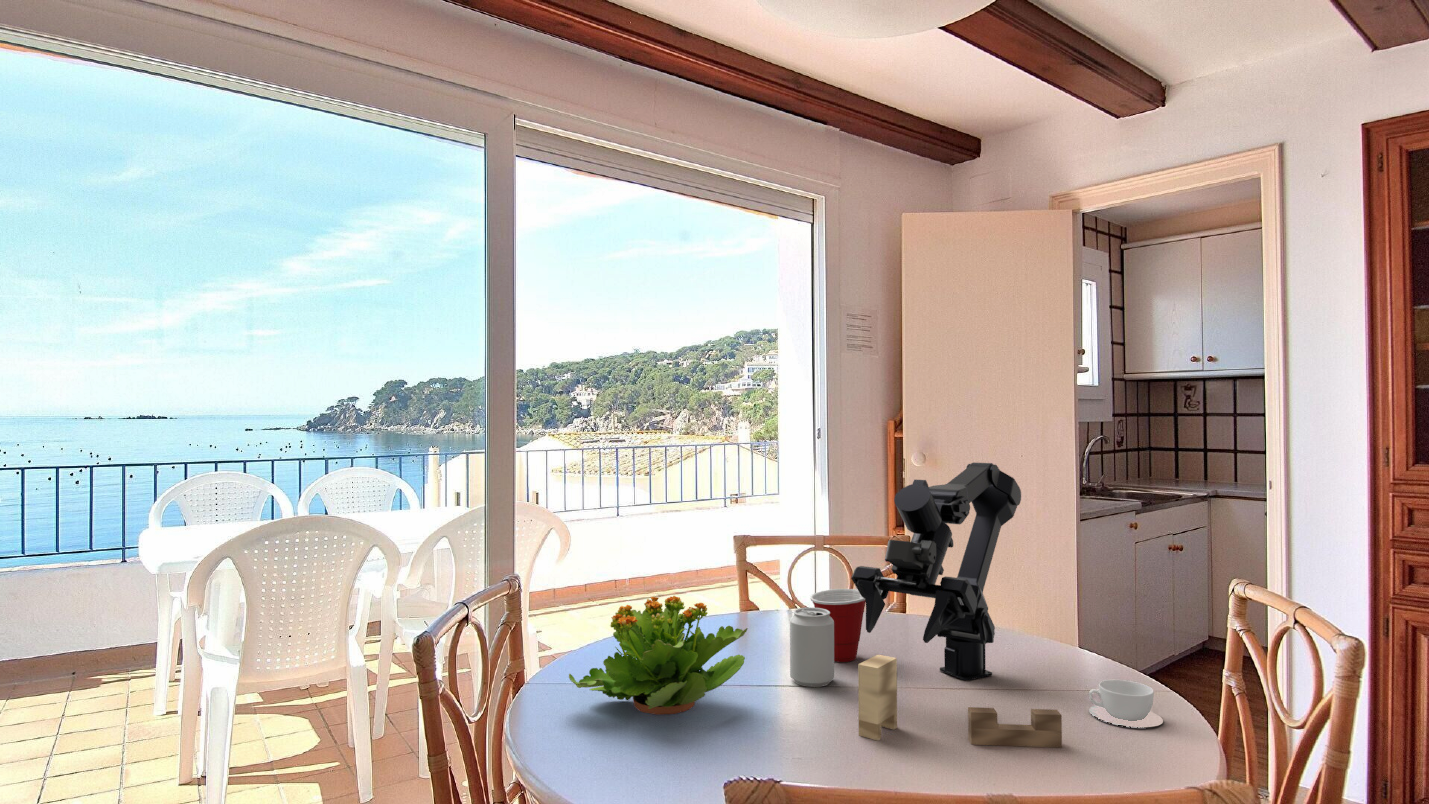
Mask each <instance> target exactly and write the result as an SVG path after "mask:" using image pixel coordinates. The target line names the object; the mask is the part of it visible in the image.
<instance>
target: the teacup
mask: <svg viewBox="0 0 1429 804" xmlns="http://www.w3.org/2000/svg"><path fill="white" fill-rule="evenodd" d="M1093 694H1097V695H1098V696H1099V698H1100V701H1101V702H1100V701H1097V700H1094V699H1093V697H1092V695H1093ZM1154 694H1155V690H1154V689H1153V688H1152V687H1151V686H1149V685H1147V684H1144V683H1141V682H1137V681H1132V680H1128V679H1117V678H1116V679H1113V678H1112V679H1104V680H1101V681H1100V682H1098V689H1097V688H1093V689H1092V688H1091V689H1090V690H1089V692H1088V697H1089V700H1090V702H1091V703H1092V704H1093V706H1091V707H1090V708H1089V709H1088V710H1089V711H1088V712H1089V713H1090V715H1091V714H1092V715H1091V716H1092V717H1094V716H1098V715H1095V714H1096V713H1094V712H1092V711H1097V710H1094V709H1093V708H1098V707H1096V706H1099V707H1103V708H1105V709H1106V711H1107V712H1108V713H1109V714H1110V715H1111V716H1113V717H1115V718H1118V719H1123V720H1128V721H1137V720H1142V719H1144V718H1145V717H1146V716H1147V715H1148V713H1149V712H1150V711H1151V710H1152V707H1153V702H1154ZM1095 705H1096V706H1095ZM1091 708H1092V709H1091ZM1099 719H1100V718H1098V720H1099ZM1103 722H1104V723H1107V722H1109V721H1103ZM1111 725H1114V726H1118V725H1123V724H1116V723H1112V724H1111ZM1125 728H1130V727H1129V726H1126V727H1125ZM1131 729H1145V728H1144V727H1143V728H1142V727H1141V728H1140V727H1138V728H1137V727H1132V726H1131Z"/></svg>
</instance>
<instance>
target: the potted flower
mask: <svg viewBox="0 0 1429 804" xmlns="http://www.w3.org/2000/svg"><path fill="white" fill-rule="evenodd" d="M658 600H659V597H657V596H650V599H649V598H647V599H646V601H645V603H643V604H644V606H645V609H643V611H642V612H641V610H640V609H639V610H636V609H633V606H631V605H630V604H626V605H625V606H623V605H621V606H620V605H619V608H618V610H617V612H615V614H614V615H613V616H611V622H610V625H609V626H610V628H613V630H614V632H613V633H612V635H613V637H614V639H615V640H616V642H617V643H619V644H618V645H619V647H620V648H621V650H619V648H618V647H616V646H615V647H614V648H615V649H616V650H617V651H615V653H614V654H613V656H611V655H607V658H605V659H604V660H603V666H605V671H604V669H603V668H602V667H599V669H598V667H592V668H590V669H589V672H588V674H586V675H584V676H583V677H582V678H581V679H579V681H577V680H576V679H575V677H574V676H573V674H572V673H569V674H568V678H569V681H571V683H573V684H574V685H575V686H576V688H578V689H581V688H590V689H589V691H592V692H593V691H594V692H596V691H597V692H602V694H603V695H606V696H608V698H615V697H616V699H617V700H624V699H625V700H626V701H629V700H631V698H632V700H633V705H634V708H635V709H637V711H639V712H641V713H644V714H651V715H655V716H656V715H658V716H660V715H663V716H664V715H665V716H666V714H667V715H676V714H680V713H685V712H686V711H688V710H689V711H690V710H691V709H692V708H693V707H694V706H695V703H696V701H698V700H700V699H702V698H703V697H705V696H706V693H708V692H711V691H714V690H715V689H717V688H719V687H720V686H722V685H723V684H724V683H726V682H727V681H728V680H730V679H732V677H733V676H735V674H737V673H738V672H739V671H740V670H741V669H742V667H743V665H744V663H745V656H744V655H742V654H737V655H734V656H733V655H730V656H728V657H727V658H726V657H724V658H723V659H722V660H721V661H717V662H716V663H715V664H714V665H710V666H709V668H708V669H707V670H705V669H703V666H704V665H705V664H706V663H707V662H708V661H709V660H710V659H712V658H713V657H714V656H715V655H717V654H718V653H719V652H720V651H722V650H723V649H725V648H726V647H727V646H729V645H731V644H732V643H734V642H736V641H737V640H738V639H740V638H741V637H743V636H744V635H745V633H747V631H748V627H746V628H745V629H742V628H736V629H734V627H733V626H732V625H727V626H726V627H724V626H723V625H721V626H719V628H718V631H717V632H716V635H715V634H714V633H713V632H710V633H708V634H707V635H706V637H705V634H704V633H703V632H702V629H701V627H700V626H699V624H700V621H701V620H702V619H703V617H707V614H708V612H707V611H708V607H707V605H706V604H705V603H704V602H698V603H694V604H693V605H694V607H692V606H689V607H688V608H687V609H685V608H686V606H684V605H685V603H684V601H682V599H681V597H679V596H676V595H673V596H669V597H666V598H665V599H664V604H663V603H660V602H659V601H658ZM663 605H664V606H665V608H664V610H663V608H662V607H663ZM682 610H684V611H682ZM680 611H682V613H680ZM695 621H696V622H697V623H696V626H695V629H694V632H693V631H691V629H692V628H693V627H694V624H692V623H693V622H695ZM686 624H688V625H687V626H688V628H685V626H686ZM685 630H687V631H686V634H685V632H684V631H685ZM690 634H691V635H690ZM689 635H690V636H689ZM621 651H622V652H621Z"/></svg>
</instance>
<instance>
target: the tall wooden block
mask: <svg viewBox="0 0 1429 804" xmlns="http://www.w3.org/2000/svg"><path fill="white" fill-rule="evenodd" d="M897 659H898V658H897V657H894V656H888V655H881V654H875V655H874V656H872V657H870V658H868V659H866V660H864V661H862V662H860V663H858V664H857V666H858V668H857V671H858V672H857V673H858V676H857V677H858V678H857V679H858V680H857V681H858V682H857V683H858V685H857V687H858V689H857V690H858V695H857V697H858V699H857V700H858V736H860V737H864V738H867V739H871V740H874V741H880V740H881V739H882V727H883V728H886V729H891V730H896V729H898V676H897V675H898V673H897V672H898V668H897V666H898V665H897V664H898V663H897Z"/></svg>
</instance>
